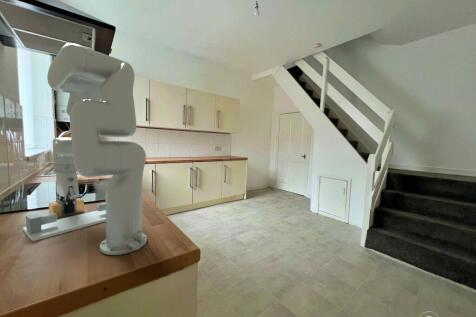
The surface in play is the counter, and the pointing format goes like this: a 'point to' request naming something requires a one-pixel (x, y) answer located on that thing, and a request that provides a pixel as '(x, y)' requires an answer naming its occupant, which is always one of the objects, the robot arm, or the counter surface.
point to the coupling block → (59, 207)
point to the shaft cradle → (61, 223)
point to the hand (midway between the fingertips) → (67, 211)
